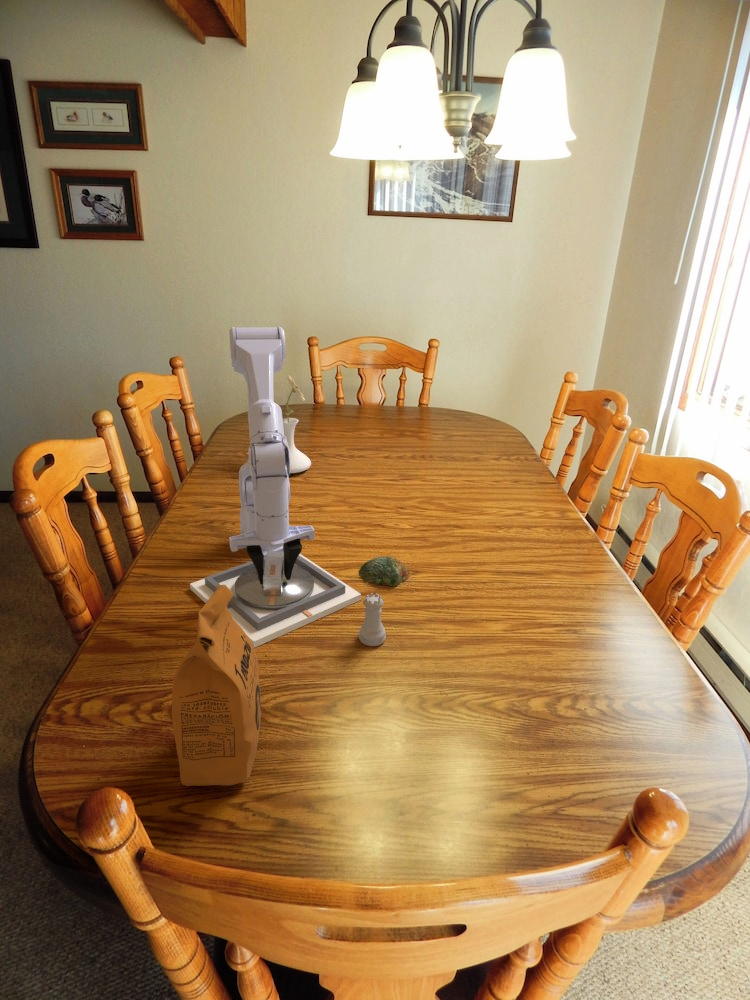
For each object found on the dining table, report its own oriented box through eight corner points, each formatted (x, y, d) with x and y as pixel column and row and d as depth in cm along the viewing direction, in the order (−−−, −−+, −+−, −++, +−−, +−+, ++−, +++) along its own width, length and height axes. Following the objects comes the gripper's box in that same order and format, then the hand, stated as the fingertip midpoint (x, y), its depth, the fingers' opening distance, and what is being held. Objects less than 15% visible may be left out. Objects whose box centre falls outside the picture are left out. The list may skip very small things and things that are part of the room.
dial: (229, 610, 105) (227, 583, 103) (240, 568, 118) (238, 543, 116) (313, 608, 106) (313, 582, 104) (314, 567, 119) (314, 543, 117)
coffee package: (273, 719, 84) (266, 579, 76) (251, 796, 73) (240, 641, 64) (200, 714, 85) (185, 574, 76) (168, 790, 73) (145, 636, 65)
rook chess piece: (370, 627, 104) (371, 586, 101) (391, 638, 102) (393, 596, 98) (352, 639, 101) (353, 597, 98) (374, 651, 98) (375, 608, 95)
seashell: (401, 541, 124) (417, 566, 116) (402, 559, 126) (417, 585, 117) (352, 549, 122) (365, 576, 113) (354, 567, 124) (366, 594, 115)
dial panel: (190, 589, 113) (189, 576, 112) (291, 553, 127) (291, 541, 126) (254, 647, 98) (253, 633, 97) (360, 599, 112) (361, 586, 111)
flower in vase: (308, 477, 164) (307, 384, 154) (265, 476, 165) (261, 382, 154) (314, 460, 176) (313, 372, 166) (274, 459, 176) (270, 371, 166)
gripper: (232, 526, 100) (237, 598, 105) (319, 514, 105) (319, 583, 110) (225, 508, 106) (230, 577, 111) (308, 498, 111) (309, 564, 116)
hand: (274, 579), depth 111 cm, fingers closed on dial, 4 cm apart
